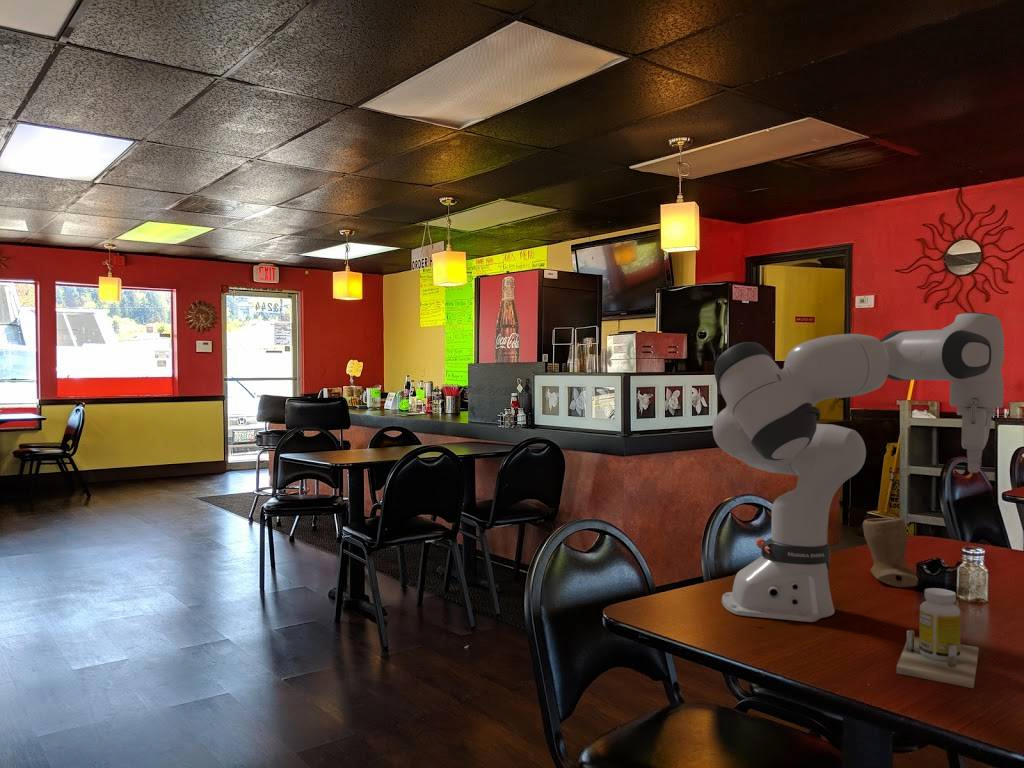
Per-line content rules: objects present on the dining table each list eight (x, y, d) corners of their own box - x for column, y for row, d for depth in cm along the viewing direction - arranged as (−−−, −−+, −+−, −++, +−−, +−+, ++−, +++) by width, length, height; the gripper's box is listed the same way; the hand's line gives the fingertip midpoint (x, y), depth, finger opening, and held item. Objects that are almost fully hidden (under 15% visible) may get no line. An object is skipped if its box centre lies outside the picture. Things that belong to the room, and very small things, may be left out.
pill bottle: (964, 655, 134) (965, 591, 134) (955, 665, 130) (956, 599, 130) (924, 646, 139) (925, 584, 138) (914, 656, 134) (915, 591, 134)
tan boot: (859, 570, 197) (860, 511, 197) (912, 575, 193) (913, 514, 193) (866, 586, 182) (867, 522, 182) (923, 591, 179) (924, 525, 178)
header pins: (956, 668, 129) (956, 646, 129) (903, 658, 133) (903, 637, 133) (959, 652, 136) (959, 632, 136) (909, 643, 141) (909, 623, 141)
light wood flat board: (973, 688, 124) (973, 680, 124) (896, 673, 130) (896, 665, 130) (978, 654, 139) (978, 646, 139) (909, 642, 145) (909, 635, 145)
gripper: (994, 399, 140) (992, 476, 141) (996, 397, 158) (995, 465, 158) (953, 398, 144) (952, 474, 144) (960, 396, 161) (959, 463, 161)
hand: (974, 469), depth 151 cm, fingers open, 8 cm apart
